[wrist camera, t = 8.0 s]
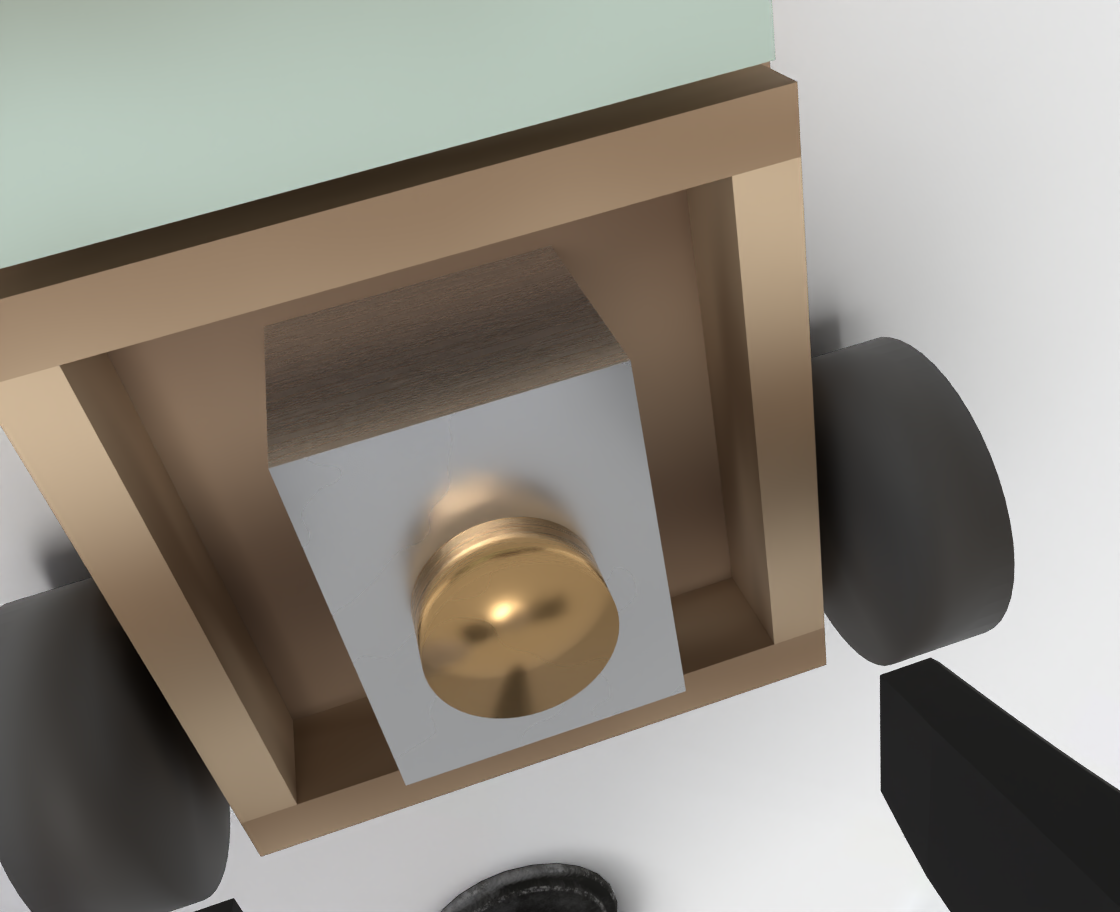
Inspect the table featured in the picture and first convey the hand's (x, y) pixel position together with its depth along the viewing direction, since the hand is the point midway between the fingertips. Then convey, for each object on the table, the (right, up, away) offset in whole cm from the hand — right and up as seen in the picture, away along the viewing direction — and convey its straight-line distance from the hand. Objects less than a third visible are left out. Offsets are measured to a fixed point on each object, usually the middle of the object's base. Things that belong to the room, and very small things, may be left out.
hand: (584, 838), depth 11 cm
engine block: (-2, +4, +6) cm, 8 cm away
